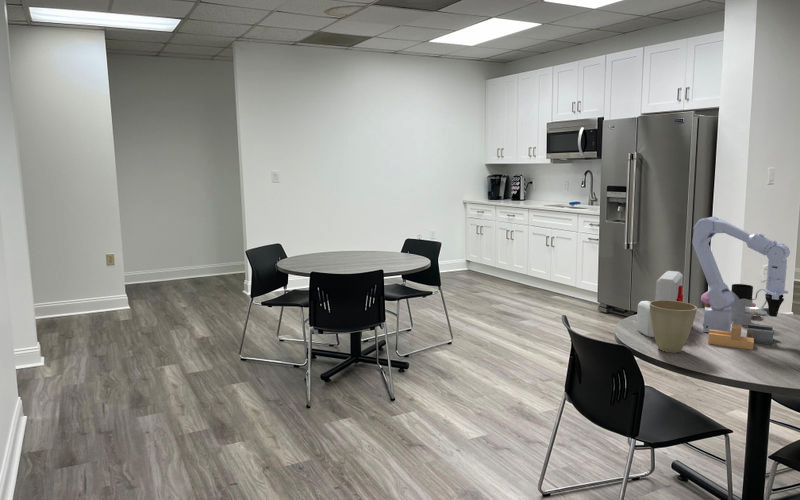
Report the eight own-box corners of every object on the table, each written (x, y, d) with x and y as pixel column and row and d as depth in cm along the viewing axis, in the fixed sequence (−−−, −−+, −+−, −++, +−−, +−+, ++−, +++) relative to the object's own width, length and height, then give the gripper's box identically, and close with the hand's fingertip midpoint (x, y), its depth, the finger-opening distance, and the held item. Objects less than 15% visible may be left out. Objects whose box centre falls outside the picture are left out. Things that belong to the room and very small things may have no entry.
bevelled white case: (675, 332, 230) (679, 280, 227) (653, 329, 234) (656, 278, 231) (683, 319, 248) (686, 271, 245) (662, 317, 252) (664, 270, 249)
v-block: (746, 341, 218) (747, 329, 217) (746, 334, 226) (747, 323, 225) (772, 344, 214) (773, 332, 213) (771, 337, 222) (772, 326, 221)
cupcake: (698, 314, 255) (700, 291, 254) (701, 310, 262) (702, 288, 261) (722, 317, 251) (724, 294, 249) (724, 313, 258) (725, 290, 256)
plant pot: (676, 359, 199) (679, 312, 197) (637, 347, 211) (640, 303, 209) (703, 351, 207) (706, 306, 204) (664, 340, 219) (666, 298, 217)
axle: (744, 315, 220) (745, 307, 219) (744, 313, 222) (745, 305, 222) (777, 317, 215) (777, 309, 214) (776, 316, 217) (777, 307, 217)
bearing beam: (707, 343, 216) (709, 325, 215) (708, 339, 221) (710, 321, 220) (753, 349, 209) (754, 330, 208) (752, 344, 214) (754, 326, 213)
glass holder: (723, 318, 248) (726, 283, 246) (760, 320, 247) (763, 284, 244) (732, 324, 240) (735, 287, 238) (770, 325, 238) (773, 288, 236)
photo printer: (634, 329, 234) (636, 298, 232) (645, 329, 234) (647, 298, 232) (647, 337, 223) (648, 305, 221) (658, 337, 224) (660, 304, 222)
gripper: (790, 282, 206) (787, 321, 208) (788, 275, 219) (784, 311, 221) (766, 280, 210) (763, 318, 212) (765, 273, 222) (762, 309, 224)
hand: (772, 315), depth 217 cm, fingers closed on axle, 3 cm apart
